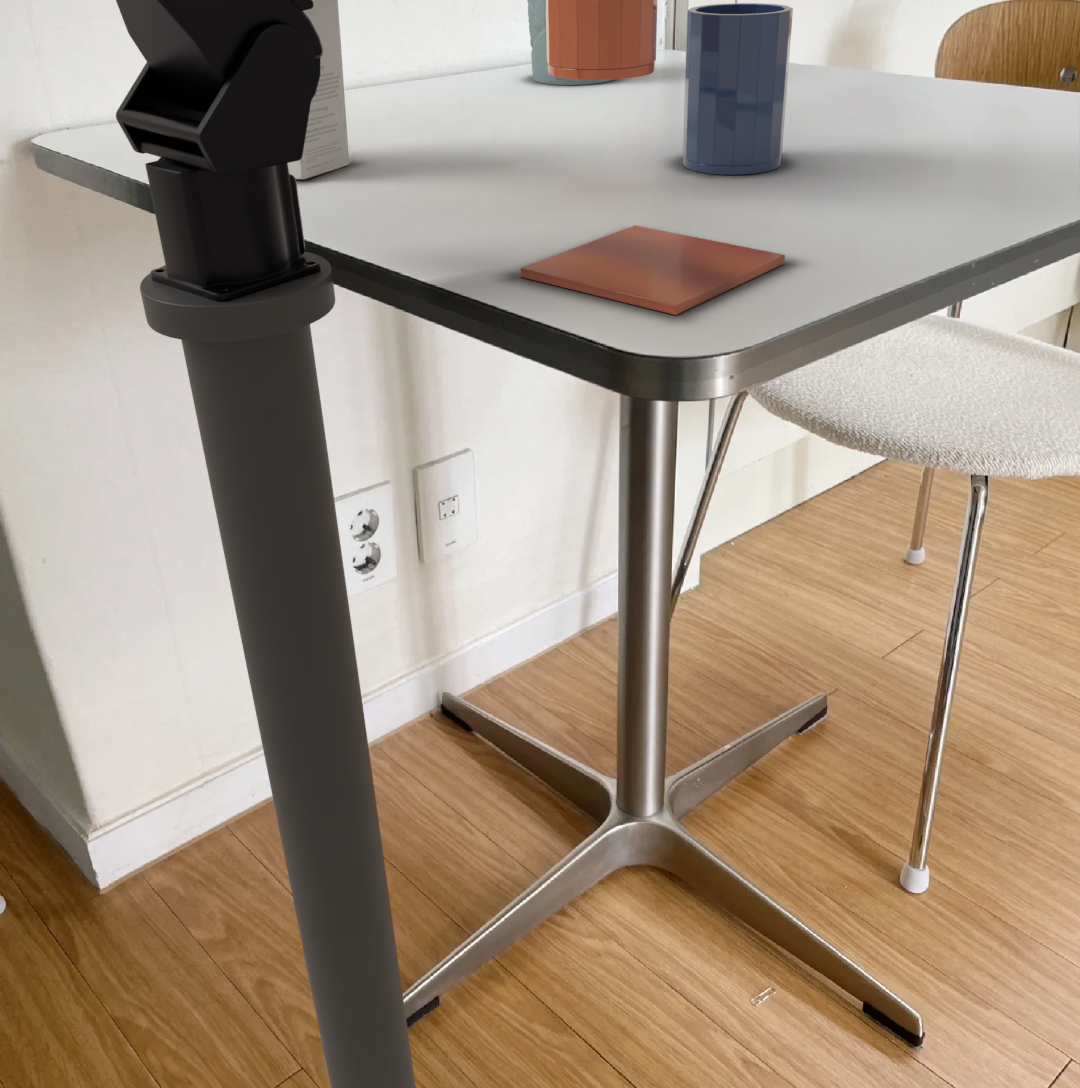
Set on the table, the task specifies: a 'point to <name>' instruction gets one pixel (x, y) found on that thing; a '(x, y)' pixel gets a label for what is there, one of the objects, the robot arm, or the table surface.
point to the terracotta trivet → (653, 268)
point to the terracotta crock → (601, 38)
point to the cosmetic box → (325, 101)
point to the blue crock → (736, 87)
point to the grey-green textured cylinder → (545, 47)
